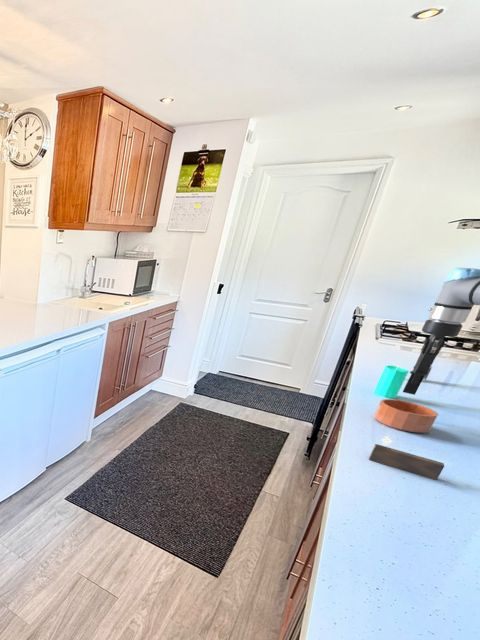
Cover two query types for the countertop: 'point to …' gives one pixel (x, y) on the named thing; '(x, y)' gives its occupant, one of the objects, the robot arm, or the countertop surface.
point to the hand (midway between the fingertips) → (408, 392)
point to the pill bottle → (425, 375)
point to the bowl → (405, 415)
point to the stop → (406, 461)
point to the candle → (390, 381)
